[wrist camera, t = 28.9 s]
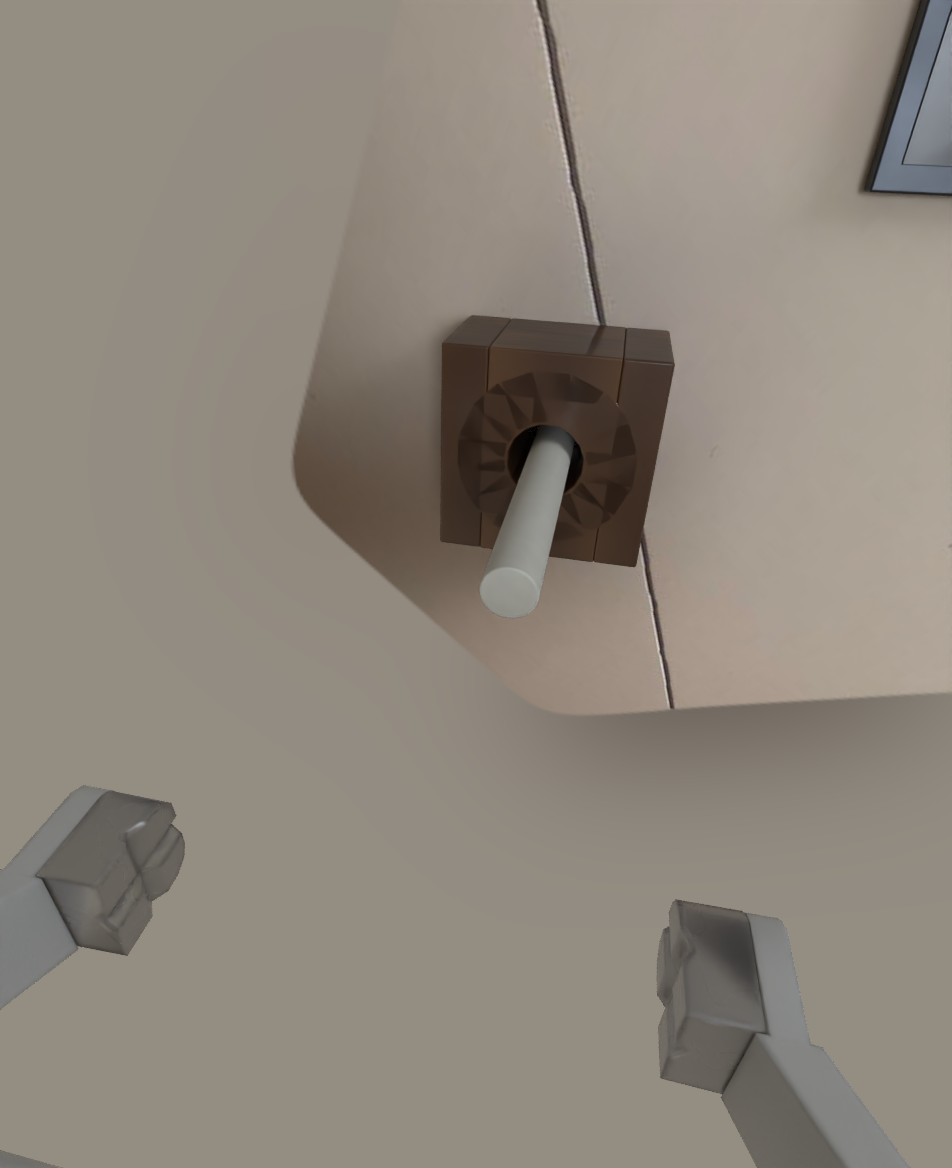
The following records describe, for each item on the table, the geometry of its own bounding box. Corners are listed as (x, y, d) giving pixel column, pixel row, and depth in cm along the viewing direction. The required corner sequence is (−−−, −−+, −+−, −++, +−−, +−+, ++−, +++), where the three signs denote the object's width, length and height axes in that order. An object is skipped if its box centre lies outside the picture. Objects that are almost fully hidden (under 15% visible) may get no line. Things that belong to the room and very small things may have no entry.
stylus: (540, 436, 30) (477, 614, 18) (544, 401, 29) (479, 563, 17) (576, 440, 30) (536, 622, 18) (581, 404, 29) (541, 572, 17)
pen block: (465, 492, 32) (439, 542, 28) (470, 314, 28) (441, 342, 24) (636, 513, 31) (635, 568, 27) (669, 330, 26) (675, 362, 22)
